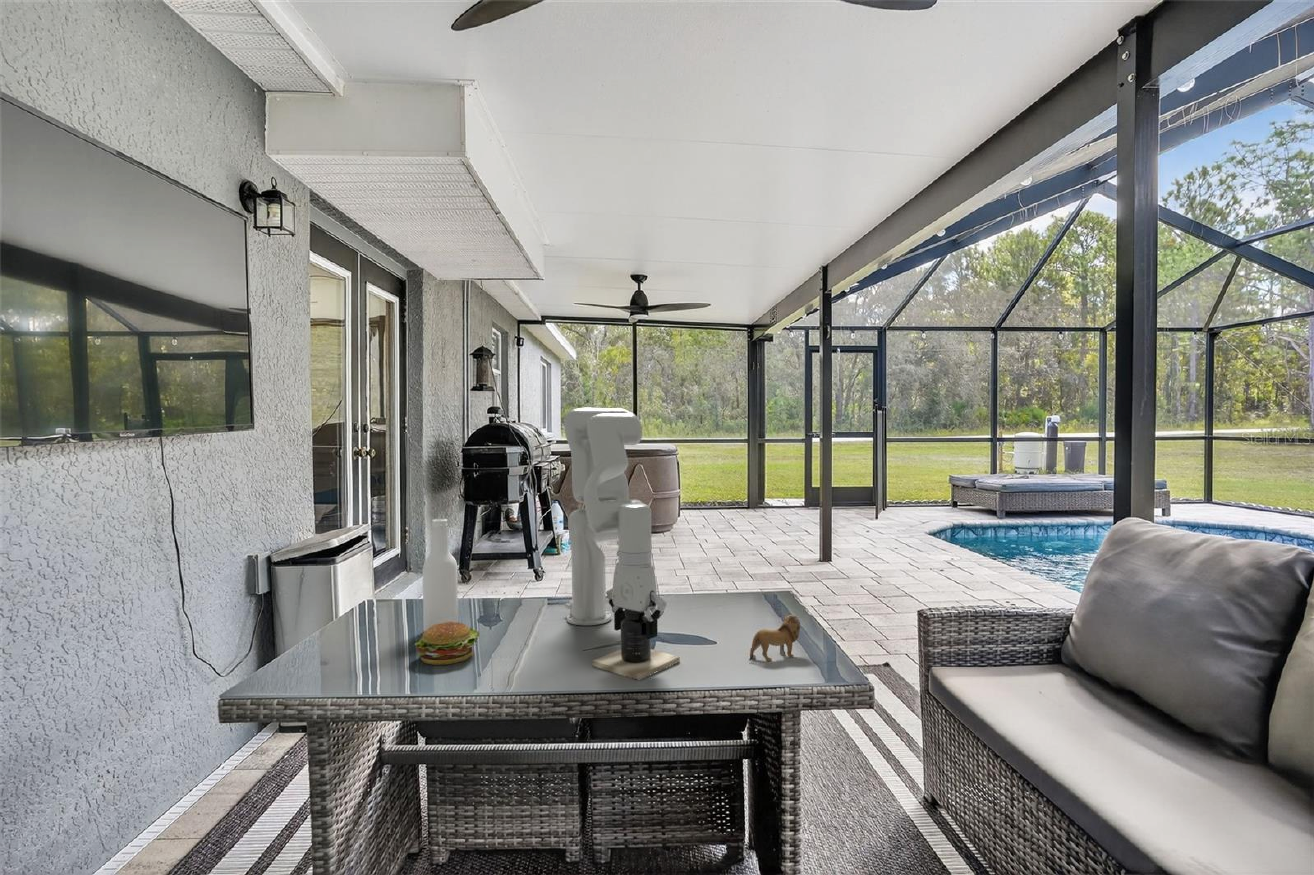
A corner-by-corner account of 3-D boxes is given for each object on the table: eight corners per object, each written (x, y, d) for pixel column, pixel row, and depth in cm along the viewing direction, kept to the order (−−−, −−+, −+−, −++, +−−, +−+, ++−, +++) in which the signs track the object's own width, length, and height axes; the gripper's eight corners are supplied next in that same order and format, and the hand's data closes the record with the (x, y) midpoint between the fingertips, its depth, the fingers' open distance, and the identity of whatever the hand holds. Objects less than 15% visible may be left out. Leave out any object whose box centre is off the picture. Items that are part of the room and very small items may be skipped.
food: (454, 671, 141) (454, 635, 141) (404, 664, 146) (404, 629, 146) (491, 651, 154) (491, 618, 154) (444, 645, 159) (443, 613, 159)
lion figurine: (791, 648, 154) (790, 611, 154) (806, 655, 149) (806, 616, 149) (742, 659, 147) (741, 620, 147) (756, 666, 142) (756, 626, 142)
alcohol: (416, 634, 168) (414, 521, 168) (439, 624, 177) (438, 517, 177) (442, 637, 165) (441, 522, 165) (464, 628, 173) (463, 518, 173)
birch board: (592, 665, 143) (592, 660, 143) (634, 649, 154) (634, 644, 154) (639, 680, 134) (638, 675, 134) (679, 662, 145) (679, 657, 145)
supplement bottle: (620, 654, 148) (620, 602, 148) (649, 652, 148) (649, 601, 148) (621, 664, 141) (620, 610, 141) (652, 663, 141) (651, 609, 141)
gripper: (596, 556, 147) (597, 629, 147) (653, 566, 136) (653, 645, 136) (618, 551, 153) (619, 622, 153) (675, 560, 142) (675, 636, 142)
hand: (635, 633), depth 145 cm, fingers open, 9 cm apart
